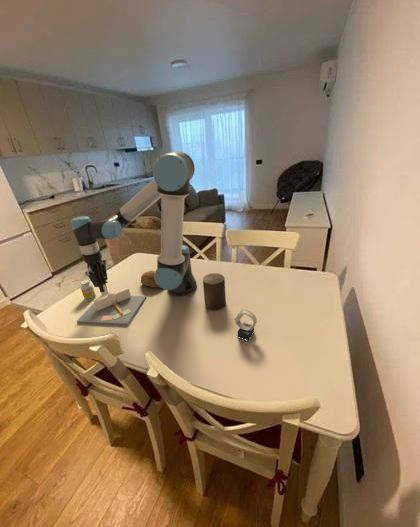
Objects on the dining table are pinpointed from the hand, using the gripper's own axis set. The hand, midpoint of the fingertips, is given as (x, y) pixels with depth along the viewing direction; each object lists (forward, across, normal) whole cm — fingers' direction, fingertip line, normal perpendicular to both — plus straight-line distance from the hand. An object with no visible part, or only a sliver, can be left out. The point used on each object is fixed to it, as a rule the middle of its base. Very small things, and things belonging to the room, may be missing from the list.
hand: (105, 295), depth 115 cm
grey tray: (+4, +6, +6) cm, 10 cm away
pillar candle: (+5, -1, +54) cm, 54 cm away
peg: (+2, +6, +9) cm, 11 cm away
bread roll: (+4, -16, +18) cm, 24 cm away
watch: (+5, +18, +67) cm, 70 cm away
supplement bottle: (+4, -3, -12) cm, 12 cm away
